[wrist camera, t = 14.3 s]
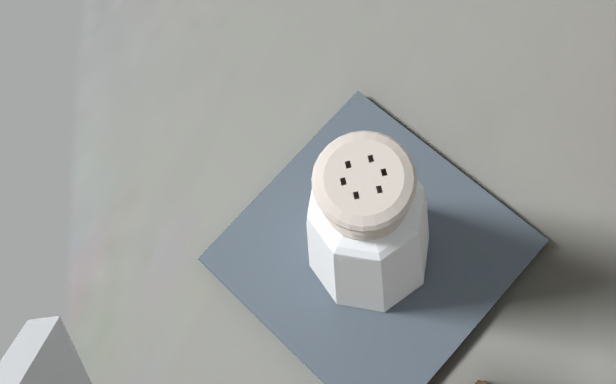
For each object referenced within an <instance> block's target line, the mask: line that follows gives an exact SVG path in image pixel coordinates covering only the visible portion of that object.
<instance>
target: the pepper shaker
mask: <svg viewBox="0 0 616 384" xmlns="http://www.w3.org/2000/svg"><path fill="white" fill-rule="evenodd" d="M311 182H312V190H311V196H310V201H309V206H308V213H307V222H306V225H307V239H308V253H309V266H310V267H311V268H312V270H313V271H314V273H315V274H316V276H317V277H318V278H319V280H320V281H321V283H322V284H323V285H324V287H325V288H326V290H327V291H328V293H329V294H330V295H331V297H332V298H333V300H334V301H335V303H336V304H339V305H345V306H350V307H356V308H362V309H368V310H374V311H380V312H386V311H387V310H388V309H390V308H391V307H393V306H394V305H395V304H397V303H398V302H399V301H401V300H402V299H403V298H405V297H406V296H408V295H409V294H410V293H412V292H413V291H414V290H416V289H417V288H419V287H420V286H421V285H423V284H424V276H425V268H426V260H427V252H428V244H429V226H428V213H427V199H426V192H425V189H424V187H423V186H422V185H421V183H420V182H419V181H418V180H417V173H416V167H415V165H414V162H413V160H412V158H411V156H410V154H409V153H408V152H407V151H406V149H405V148H404V147H403V146H402V145H401V144H400V143H399V142H397V141H396V140H394V139H393V138H392V137H390V136H387V135H384V134H382V133H379V132H373V131H357V132H350V133H348V134H345V135H343V136H340V137H338V138H337V139H335V140H334V141H332V142H331V143H329V144H328V145H327V146H326V147H325V149H324V150H323V151H322V152H321V153H320V154H319V156H318V158H317V160H316V162H315V165H314V167H313V172H312V178H311Z"/></svg>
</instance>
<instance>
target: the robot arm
mask: <svg viewBox="0 0 616 384" xmlns="http://www.w3.org/2000/svg"><path fill="white" fill-rule="evenodd" d="M0 384H92V383H91V381H90V379H89V377H88V375H87V373H86V371H85V368H84V366H83V364H82V362H81V360H80V358H79V356H78V353H77V351H76V349H75V347H74V345H73V343H72V341H71V339H70V336H69V334H68V332H67V330H66V328H65V326H64V324H63V322H62V319H61V317H60V316H56V317H48V318H40V319H31V320H28V321H27V322H26V324H25V325H24V327H23V328H22V330H21V331H20V333H19V334H18V336H17V337H16V339H15V340H14V342H13V343H12V345H11V346H10V348H9V349H8V351H7V352H6V354H5V355H4V357H3V358H2V360H1V361H0Z"/></svg>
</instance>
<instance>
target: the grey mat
mask: <svg viewBox="0 0 616 384" xmlns="http://www.w3.org/2000/svg"><path fill="white" fill-rule="evenodd" d="M357 131H373V132H379V133H382V134H384V135H387V136H390V137H392V138H393V139H394V140H396V141H397V142H399V143H400V144H401V145H402V146H403V147H404V148H405V149H406V151H407V152H408V153H409V154H410V156H411V158H412V160H413V162H414V165H415V167H416V173H417V180H418V181H419V182H420V183H421V185H422V186H423V187H424V189H425V192H426V199H427V213H428V226H429V244H428V252H427V260H426V268H425V276H424V284H423V285H421V286H420V287H419V288H417V289H416V290H414V291H413V292H412V293H410V294H409V295H408V296H406V297H405V298H403V299H402V300H401V301H399V302H398V303H397V304H395V305H394V306H393V307H391V308H390V309H388V310H387V311H386V312H380V311H374V310H368V309H362V308H356V307H350V306H345V305H339V304H336V303H335V301H334V300H333V298H332V297H331V295H330V294H329V293H328V291H327V290H326V288H325V287H324V285H323V284H322V283H321V281H320V280H319V278H318V277H317V276H316V274H315V273H314V271H313V270H312V268H311V267H310V266H309V253H308V239H307V225H306V222H307V213H308V206H309V201H310V196H311V190H312V182H311V178H312V172H313V167H314V165H315V162H316V160H317V158H318V156H319V154H320V153H321V152H322V151H323V150H324V149H325V147H326V146H327V145H328V144H329V143H331V142H332V141H334V140H335V139H337V138H338V137H340V136H343V135H345V134H348V133H350V132H357ZM548 241H549V240H548V239H547V238H546V237H544V236H543V235H542V234H540V233H539V232H538V231H537V230H535V229H534V228H533V227H531V226H530V225H529V224H528V223H526V222H525V221H524V220H523V219H521V218H520V217H519V216H517V215H516V214H515V213H514V212H512V211H511V210H510V209H508V208H507V207H506V206H505V205H503V204H502V203H501V202H499V201H498V200H497V199H496V198H494V197H493V196H492V195H491V194H489V193H488V192H487V191H485V190H484V189H483V188H482V187H480V186H479V185H478V184H476V183H475V182H474V181H473V180H471V179H470V178H469V177H467V176H466V175H465V174H464V173H462V172H461V171H460V170H458V169H457V168H456V167H455V166H453V165H452V164H451V163H450V162H448V161H447V160H446V159H444V158H443V157H442V156H441V155H439V154H438V153H437V152H435V151H434V150H433V149H432V148H430V147H429V146H428V145H426V144H425V143H424V142H423V141H421V140H420V139H419V138H418V137H416V136H415V135H414V134H412V133H411V132H410V131H409V130H407V129H406V128H405V127H403V126H402V125H401V124H400V123H398V122H397V121H396V120H394V119H393V118H392V117H391V116H389V115H388V114H387V113H386V112H384V111H383V110H382V109H380V108H379V107H378V106H377V105H375V104H374V103H373V102H371V101H370V100H369V99H368V98H366V97H365V96H364V95H362V94H361V93H360V92H359V91H357V92H356V93H355V94H354V95H353V97H352V98H351V99H350V100H349V101H348V102H347V103H346V104H345V105H344V106H343V107H342V108H341V109H340V110H339V111H338V112H337V113H336V114H335V115H334V116H333V118H332V119H331V120H330V121H329V122H328V123H327V124H326V125H325V126H324V127H323V128H322V129H321V130H320V131H319V132H318V133H317V134H316V135H315V136H314V137H313V139H312V140H311V141H310V142H309V143H308V144H307V145H306V146H305V147H304V148H303V149H302V150H301V151H300V152H299V153H298V154H297V155H296V156H295V157H294V158H293V160H292V161H291V162H290V163H289V164H288V165H287V166H286V167H285V168H284V169H283V170H282V171H281V172H280V173H279V174H278V175H277V176H276V177H275V178H274V179H273V181H272V182H271V183H270V184H269V185H268V186H267V187H266V188H265V189H264V190H263V191H262V192H261V193H260V194H259V195H258V196H257V197H256V198H255V199H254V200H253V202H252V203H251V204H250V205H249V206H248V207H247V208H246V209H245V210H244V211H243V212H242V213H241V214H240V215H239V216H238V217H237V218H236V219H235V220H234V221H233V223H232V224H231V225H230V226H229V227H228V228H227V229H226V230H225V231H224V232H223V233H222V234H221V235H220V236H219V237H218V238H217V239H216V240H215V241H214V242H213V244H212V245H211V246H210V247H209V248H208V249H207V250H206V251H205V252H204V253H203V254H202V255H201V256H200V257H199V258H198V260H199V261H200V262H201V263H202V264H203V265H204V266H205V267H206V268H207V269H208V270H209V271H210V272H211V273H212V274H213V275H214V276H215V277H216V278H217V279H218V280H219V281H220V282H221V283H222V284H223V285H224V286H225V287H227V288H228V289H229V290H230V291H231V292H232V293H233V294H234V295H235V296H236V297H237V298H238V299H239V300H240V301H241V302H242V303H243V304H244V305H245V306H246V307H247V308H248V309H249V310H250V311H251V312H252V313H253V314H254V315H255V316H256V317H257V318H258V319H259V320H260V321H261V322H262V323H263V324H264V325H265V326H266V327H267V328H268V329H269V330H270V331H271V332H272V333H273V334H274V335H275V336H276V337H277V338H278V339H279V340H280V341H281V342H282V343H283V344H284V345H285V346H286V347H287V348H288V349H289V350H290V351H291V352H292V353H293V354H294V355H296V356H297V357H298V358H299V359H300V360H301V361H302V362H303V363H304V364H305V365H306V366H307V367H308V368H309V369H310V370H311V371H312V372H313V373H314V374H315V375H316V376H317V377H318V378H319V379H320V380H321V381H322V382H323V383H324V384H427V383H428V382H429V381H430V379H431V378H432V377H433V376H434V375H435V374H436V372H437V371H438V370H439V369H440V368H441V366H442V365H443V364H444V363H445V362H446V361H447V359H448V358H449V357H450V356H451V355H452V354H453V352H454V351H455V350H456V349H457V348H458V346H459V345H460V344H461V343H462V342H463V341H464V339H465V338H466V337H467V336H468V335H469V334H470V332H471V331H472V330H473V329H474V328H475V327H476V325H477V324H478V323H479V322H480V321H481V319H482V318H483V317H484V316H485V315H486V314H487V312H488V311H489V310H490V309H491V308H492V307H493V305H494V304H495V303H496V302H497V301H498V299H499V298H500V297H501V296H502V295H503V294H504V292H505V291H506V290H507V289H508V288H509V287H510V285H511V284H512V283H513V282H514V281H515V279H516V278H517V277H518V276H519V275H520V274H521V272H522V271H523V270H524V269H525V268H526V267H527V265H528V264H529V263H530V262H531V261H532V260H533V258H534V257H535V256H536V255H537V254H538V252H539V251H540V250H541V249H542V248H543V247H544V245H545V244H546V243H547V242H548Z"/></svg>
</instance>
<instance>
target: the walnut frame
mask: <svg viewBox="0 0 616 384" xmlns="http://www.w3.org/2000/svg"><path fill="white" fill-rule="evenodd" d="M475 384H487V383H486V382H485V381H480V380H478V381H477V382H476V383H475Z"/></svg>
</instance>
